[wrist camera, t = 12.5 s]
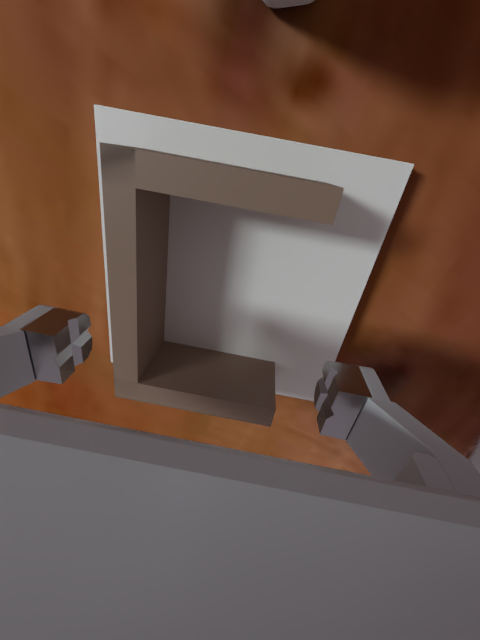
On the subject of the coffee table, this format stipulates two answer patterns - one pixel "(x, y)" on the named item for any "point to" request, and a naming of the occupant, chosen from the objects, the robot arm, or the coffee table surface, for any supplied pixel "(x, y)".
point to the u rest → (232, 259)
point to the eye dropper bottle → (286, 3)
